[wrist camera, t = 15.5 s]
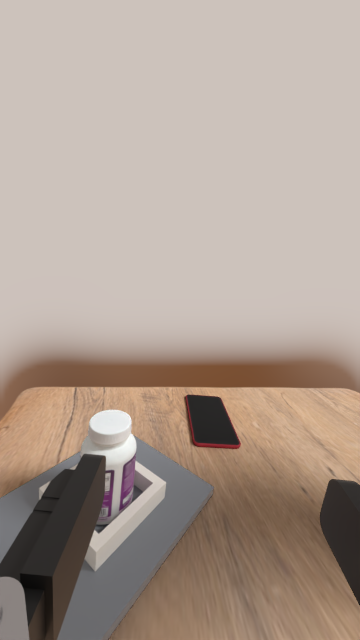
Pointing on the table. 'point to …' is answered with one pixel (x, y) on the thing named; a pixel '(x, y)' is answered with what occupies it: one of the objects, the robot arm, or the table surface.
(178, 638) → the table surface
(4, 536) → the socket plate
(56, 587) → the robot arm
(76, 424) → the table surface
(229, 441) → the smartphone
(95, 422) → the pill bottle
